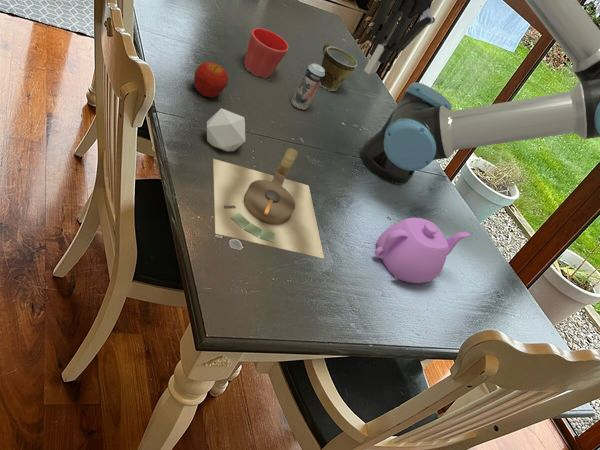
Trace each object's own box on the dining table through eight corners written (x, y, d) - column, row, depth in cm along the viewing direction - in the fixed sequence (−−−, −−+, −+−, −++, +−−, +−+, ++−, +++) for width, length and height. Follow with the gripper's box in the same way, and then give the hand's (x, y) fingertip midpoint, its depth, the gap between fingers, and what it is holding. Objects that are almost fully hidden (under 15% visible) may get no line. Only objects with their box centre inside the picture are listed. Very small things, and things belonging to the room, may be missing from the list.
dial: (284, 234, 111) (299, 208, 107) (236, 211, 110) (250, 183, 105) (300, 185, 125) (314, 160, 121) (259, 164, 124) (272, 138, 120)
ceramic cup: (347, 96, 172) (363, 68, 167) (322, 94, 166) (338, 65, 160) (324, 70, 179) (339, 42, 173) (300, 68, 172) (314, 38, 166)
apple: (217, 87, 143) (228, 60, 138) (223, 106, 138) (235, 78, 133) (187, 80, 139) (197, 52, 135) (192, 99, 134) (203, 70, 130)
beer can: (287, 103, 153) (307, 64, 146) (294, 98, 157) (313, 60, 150) (302, 113, 153) (323, 75, 146) (309, 107, 157) (328, 70, 149)
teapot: (380, 288, 115) (412, 248, 108) (356, 238, 123) (384, 199, 116) (453, 290, 125) (486, 254, 118) (426, 245, 133) (456, 208, 126)
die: (220, 166, 121) (258, 138, 120) (193, 133, 118) (232, 103, 117) (219, 156, 129) (255, 129, 128) (194, 124, 126) (230, 97, 125)
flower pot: (282, 77, 162) (296, 47, 157) (260, 84, 154) (274, 53, 148) (254, 56, 164) (267, 25, 159) (231, 62, 156) (244, 30, 150)
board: (306, 189, 128) (309, 185, 127) (321, 262, 112) (324, 257, 111) (211, 163, 120) (213, 158, 119) (213, 237, 104) (215, 232, 103)
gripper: (461, -13, 113) (399, 87, 127) (411, -48, 117) (356, 53, 131) (446, -13, 108) (383, 91, 122) (394, -50, 111) (338, 55, 125)
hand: (369, 71), depth 126 cm, fingers closed
